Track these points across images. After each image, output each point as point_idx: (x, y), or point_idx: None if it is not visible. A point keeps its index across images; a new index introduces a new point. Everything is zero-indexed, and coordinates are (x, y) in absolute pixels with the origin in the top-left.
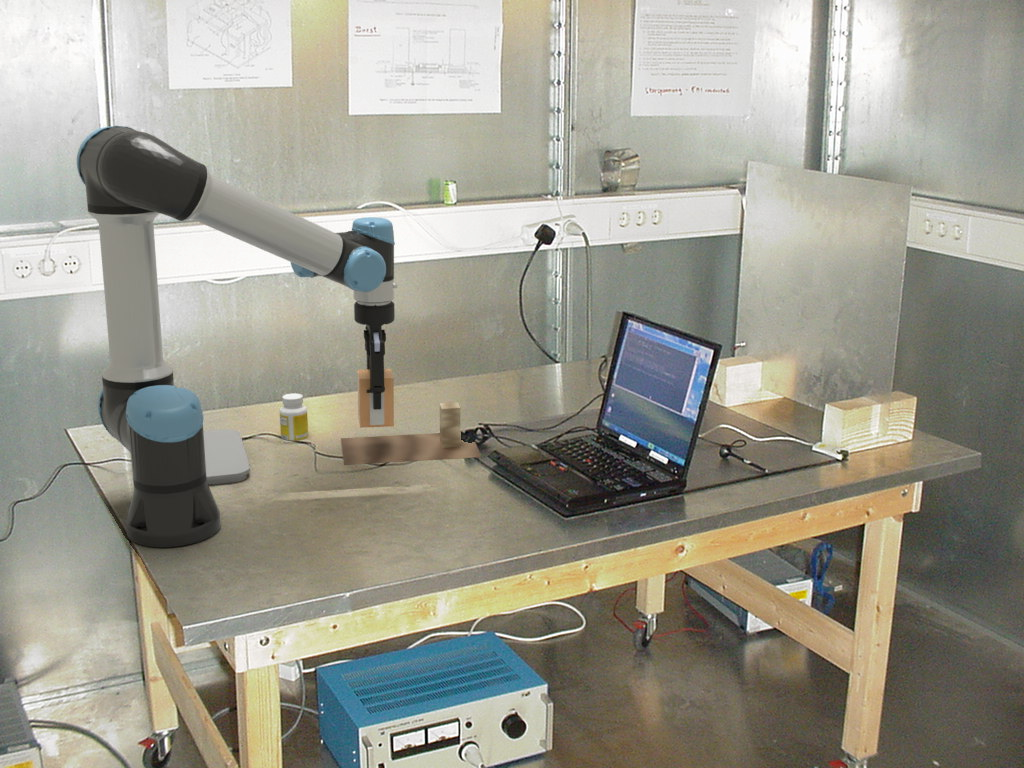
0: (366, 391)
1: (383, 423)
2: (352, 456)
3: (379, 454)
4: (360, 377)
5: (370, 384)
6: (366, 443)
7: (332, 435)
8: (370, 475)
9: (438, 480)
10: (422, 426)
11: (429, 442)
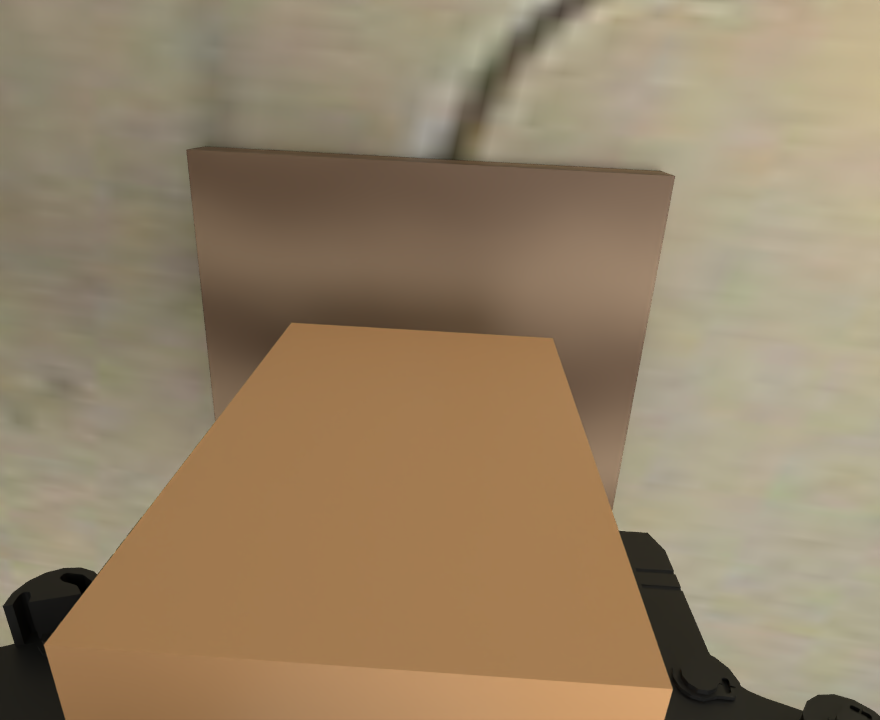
0: (91, 577)
1: None
2: (324, 215)
3: None
4: (146, 670)
5: (12, 703)
6: (530, 319)
7: (874, 133)
8: (156, 280)
9: (90, 542)
10: (799, 597)
11: None
